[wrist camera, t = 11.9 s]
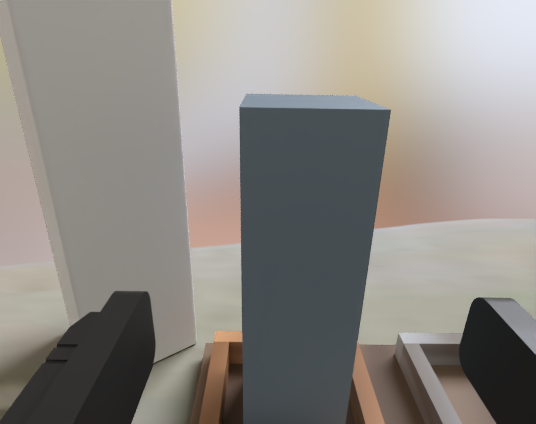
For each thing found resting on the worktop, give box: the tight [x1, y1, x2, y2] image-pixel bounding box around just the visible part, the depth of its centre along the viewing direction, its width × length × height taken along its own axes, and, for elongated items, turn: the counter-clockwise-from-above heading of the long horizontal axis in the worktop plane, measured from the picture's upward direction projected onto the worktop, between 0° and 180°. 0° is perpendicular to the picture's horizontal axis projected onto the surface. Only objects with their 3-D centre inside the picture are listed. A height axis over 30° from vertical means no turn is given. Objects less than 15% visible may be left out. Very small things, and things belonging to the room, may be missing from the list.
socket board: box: [189, 331, 496, 424], centre depth 17 cm, size 19×9×2 cm, turn 90°
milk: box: [0, 0, 197, 363], centre depth 19 cm, size 6×6×22 cm
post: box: [240, 94, 391, 424], centre depth 14 cm, size 4×4×14 cm
